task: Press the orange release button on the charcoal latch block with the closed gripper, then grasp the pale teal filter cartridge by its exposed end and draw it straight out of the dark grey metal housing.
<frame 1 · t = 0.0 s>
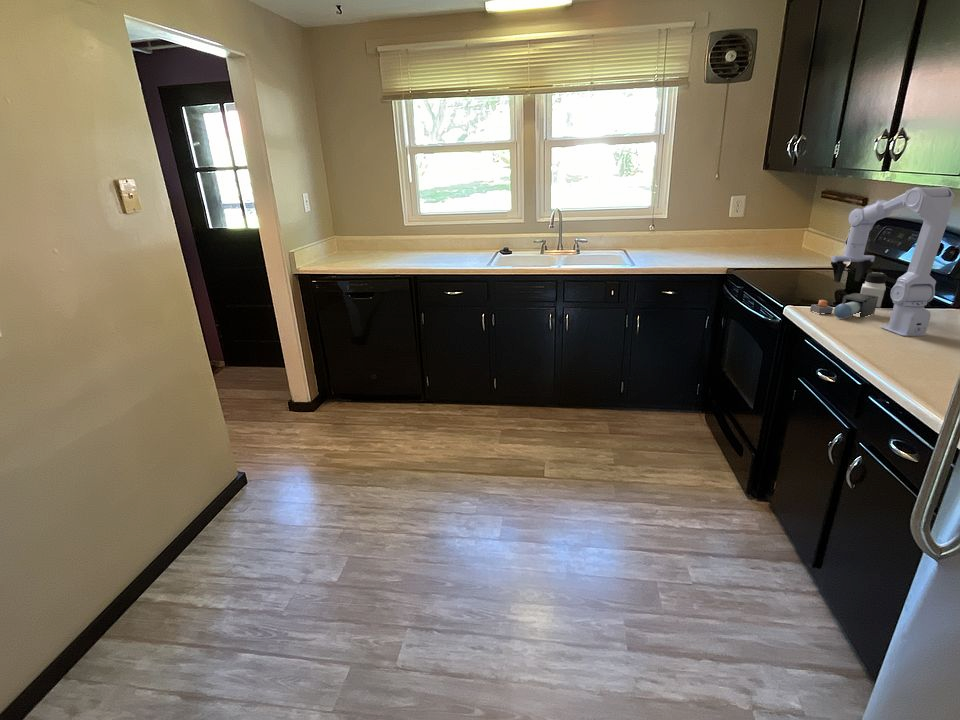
hand: (847, 281, 187), 10 cm above the worktop, fingers open, 7 cm apart
medicine bottle: (869, 305, 195), on the worktop
latch block: (820, 312, 185), on the worktop
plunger: (822, 304, 184), point 3 cm above the worktop, slide at 0.0 cm
cartridge: (852, 307, 180), point 3 cm above the worktop, slide at 0.0 cm
housing: (856, 314, 183), on the worktop
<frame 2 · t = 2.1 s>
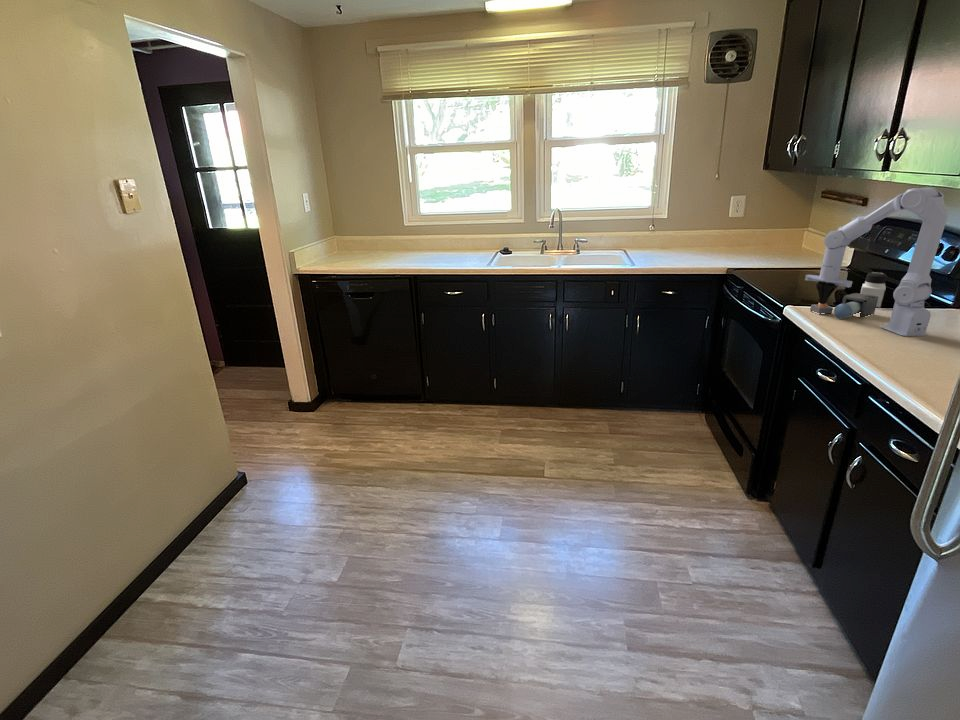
hand: (822, 303, 184), 3 cm above the worktop, fingers closed, pressing on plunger
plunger: (821, 307, 185), point 2 cm above the worktop, slide at 0.9 cm, touching gripper
everything else where it was.
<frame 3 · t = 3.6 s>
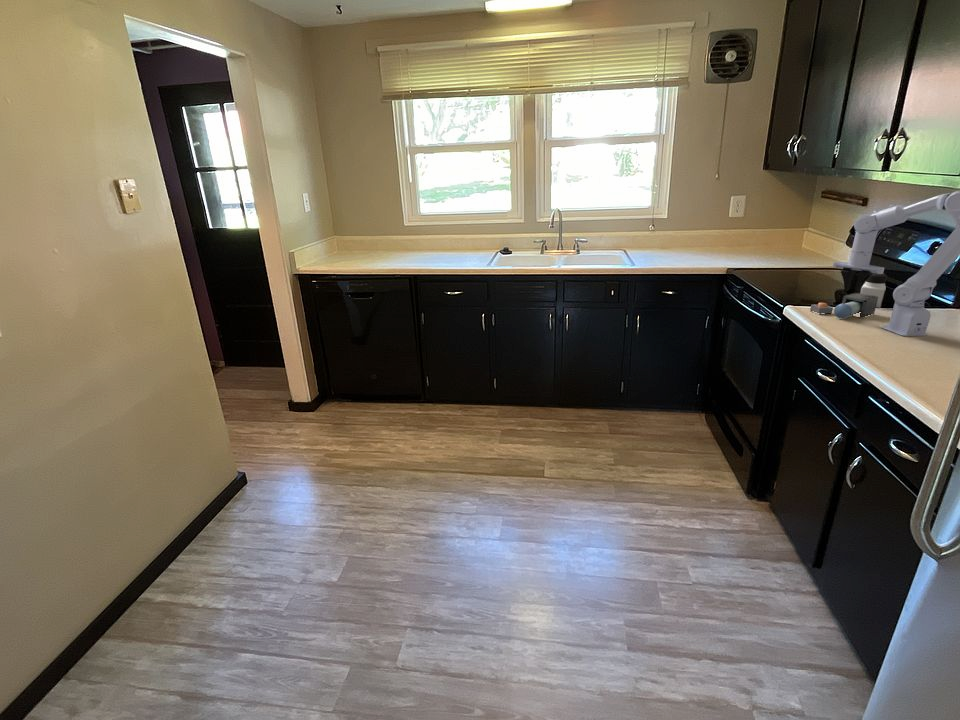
hand: (851, 291, 176), 9 cm above the worktop, fingers open, 3 cm apart
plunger: (821, 307, 185), point 2 cm above the worktop, slide at 1.0 cm
everything else where it was.
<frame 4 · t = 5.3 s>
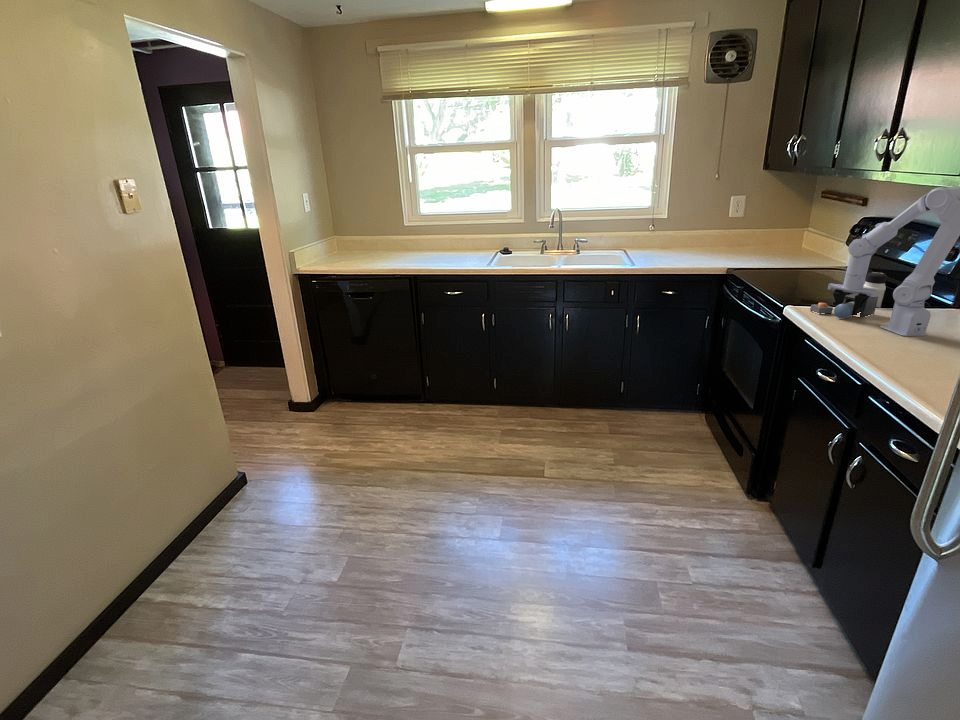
hand: (846, 313, 178), 2 cm above the worktop, fingers closed on cartridge, 4 cm apart
cartridge: (852, 307, 180), point 3 cm above the worktop, slide at 0.0 cm, touching gripper
everything else where it was.
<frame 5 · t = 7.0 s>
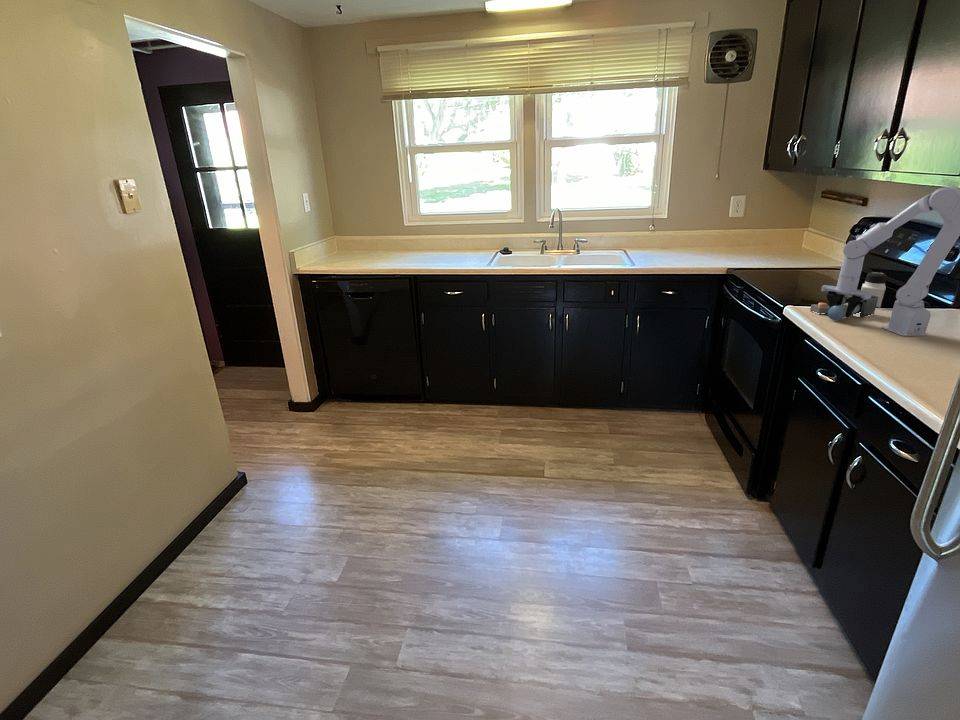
hand: (839, 315, 176), 2 cm above the worktop, fingers closed on cartridge, 4 cm apart
cartridge: (846, 309, 178), point 3 cm above the worktop, slide at 4.3 cm, touching gripper
everything else where it was.
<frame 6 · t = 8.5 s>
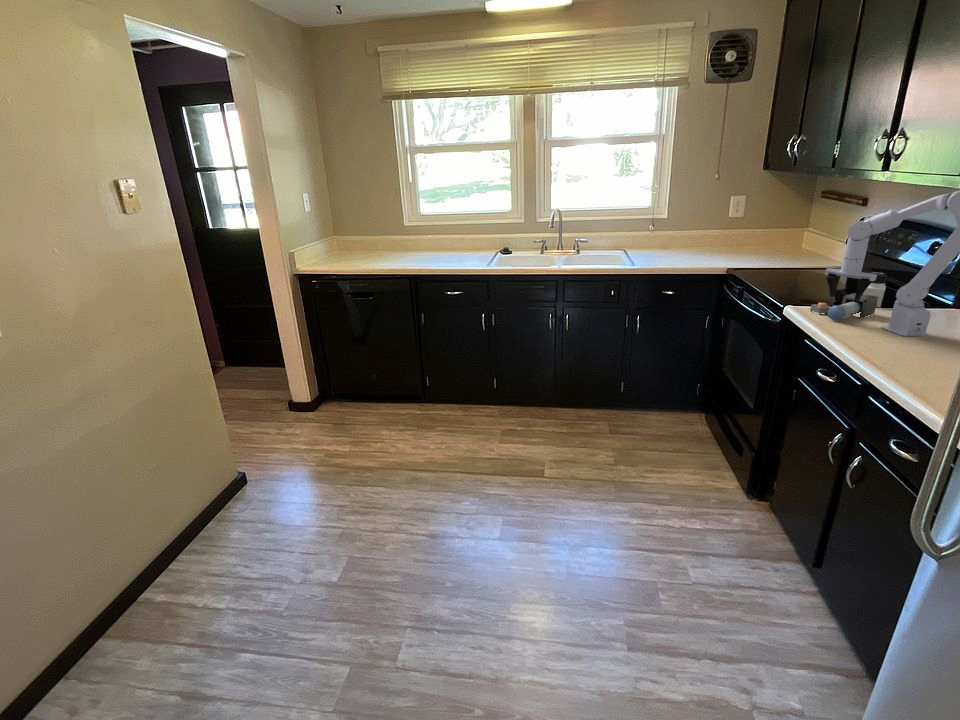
hand: (844, 298, 174), 8 cm above the worktop, fingers open, 7 cm apart
cartridge: (846, 309, 178), point 3 cm above the worktop, slide at 4.3 cm
everything else where it was.
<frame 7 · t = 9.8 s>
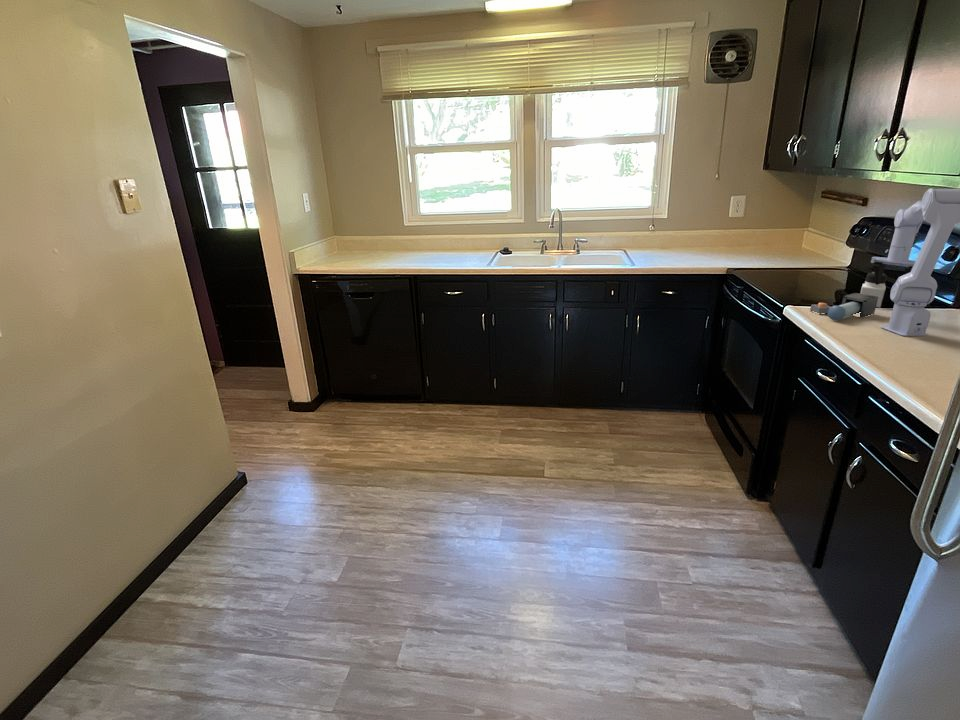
hand: (890, 286, 177), 10 cm above the worktop, fingers open, 7 cm apart
nothing on the worktop moved.
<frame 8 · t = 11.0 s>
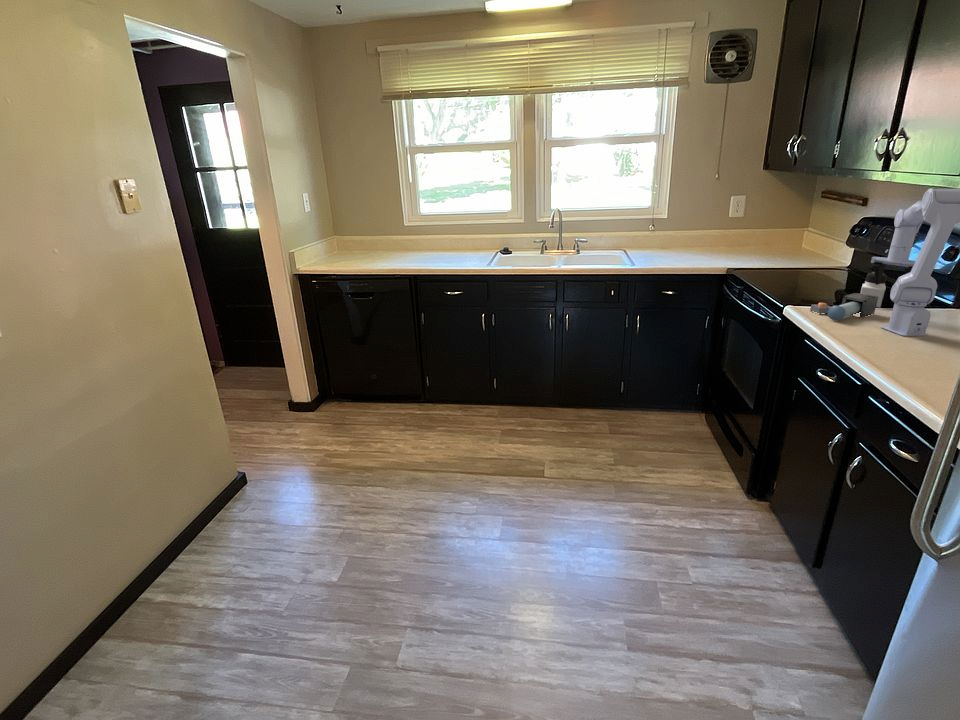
hand: (890, 286, 177), 10 cm above the worktop, fingers open, 7 cm apart
nothing on the worktop moved.
at the end: cartridge slide at 4.3 cm; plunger slide at 1.0 cm; the gripper is holding nothing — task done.
